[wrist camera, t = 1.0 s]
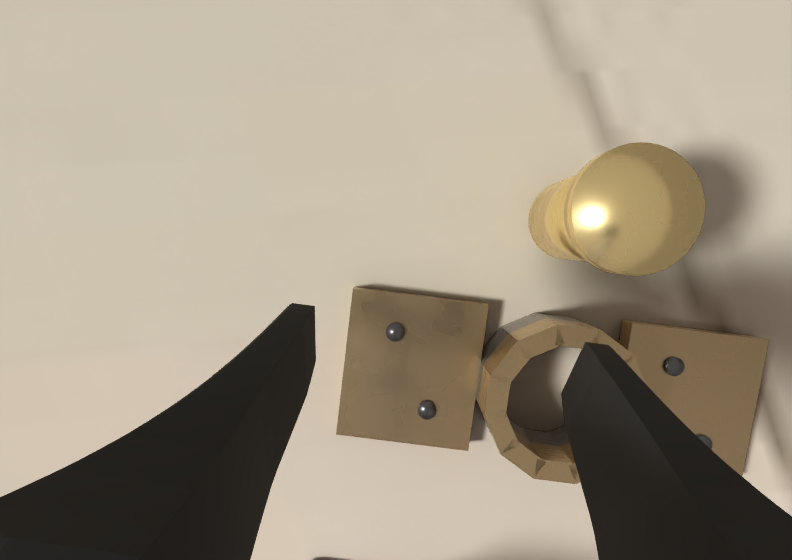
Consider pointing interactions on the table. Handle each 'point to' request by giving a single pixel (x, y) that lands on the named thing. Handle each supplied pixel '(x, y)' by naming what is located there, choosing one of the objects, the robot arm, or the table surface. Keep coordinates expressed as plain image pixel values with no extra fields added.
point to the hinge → (504, 358)
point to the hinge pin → (622, 211)
